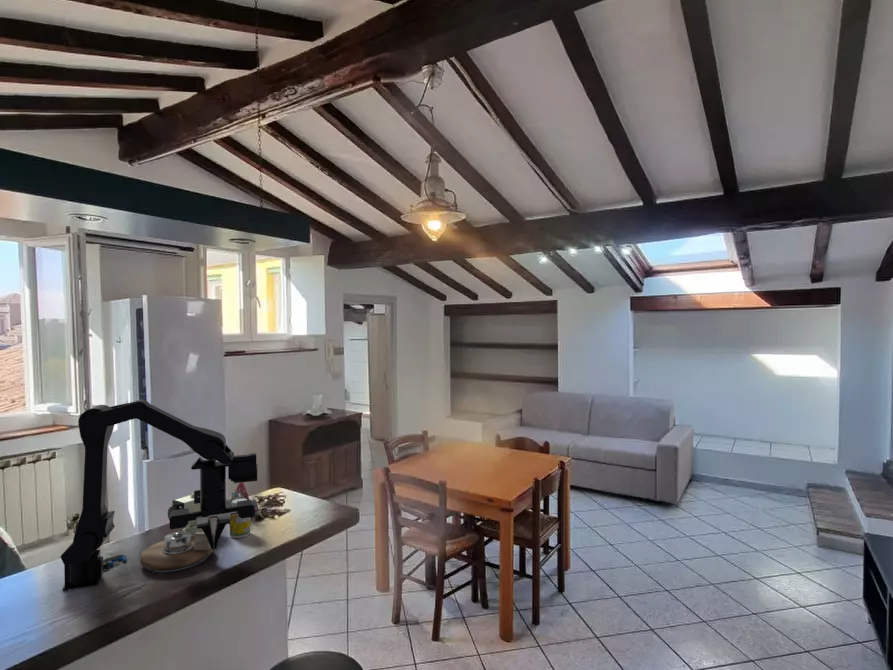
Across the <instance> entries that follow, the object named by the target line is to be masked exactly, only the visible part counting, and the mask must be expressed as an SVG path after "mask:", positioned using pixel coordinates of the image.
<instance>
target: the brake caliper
mask: <svg viewBox="0 0 893 670" xmlns="http://www.w3.org/2000/svg"><path fill="white" fill-rule="evenodd" d="M236 499H247V500H251V499H250V497H249V494H248V491H247V488H246V485H245V482H242V483H238V484H237V487H236V488H235V491H231V496H229V497H226V507H232V501H233V500H236ZM252 501H253V503H254V506H255V516H254V518H255V517H256V516H257V515H258V513H259V511H260V510H259V505H258V503H257V500H256V499H255V498H253V499H252ZM250 518H251V519H253V518H252V517H250Z"/></svg>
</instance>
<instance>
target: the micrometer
mask: <svg viewBox="0 0 893 670" xmlns="http://www.w3.org/2000/svg"><path fill="white" fill-rule="evenodd" d="M127 560H128V559H127V555H124V554H118V555H115V556H111V557H108V558H105V559H103V570H104V569H107V570H109V569H108V568H112V567H111V566H113V567H114V565H118V564H120V561H121V562H122V563H127ZM104 571H105V570H104Z"/></svg>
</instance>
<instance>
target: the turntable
mask: <svg viewBox="0 0 893 670" xmlns="http://www.w3.org/2000/svg"><path fill="white" fill-rule="evenodd" d="M191 543H193V548H192V549H191V550H189V551H187V552H184V553H181V554H175V555H166V554H163V553H162V549H163V548H164V540H162V541H160V542H159V541H158V542H156V543H154V544H151V546H150V545H149V546H148V547H147V548H145V549H144V550H143V551H142V552H141V554H140V565H141V566H142V567H143V568H145V569H146V568H148V569H155V570H165V569H174V568H179V567H184V566H187V565H191V564H193V563H196V562H198V561H201V560H203V559H204V558H206V557H208V556H209V557H210V555H211V554H212V553H213V552H214V548H213V549H211V546H210V544H209V542H208V539H207V537H206V535H205V533H204V532H196V533H195V534H194V536H191ZM209 557H208V558H209Z"/></svg>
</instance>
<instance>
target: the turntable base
mask: <svg viewBox="0 0 893 670" xmlns="http://www.w3.org/2000/svg"><path fill="white" fill-rule="evenodd" d="M209 557H210V555H209V556H208V557H206V558H204V559H203V560H201V561H198V562H196V563H193V564H191V565H187V566H184V567H179V568H174V569H165V570H155V569H148V568H145V570H146V571H147V570H148V572H150V573H152V572H153V574H158V575H159V574H160V575H162V574H161V573H163V575H164V574H165V575H166V574H174V573H179V572H183V571H187V570H190V569H193V568H196V567H198V566H200V565H201V564H202V563H203V564H204V563H205V562H206V561H207V560H208V559H209Z"/></svg>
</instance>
